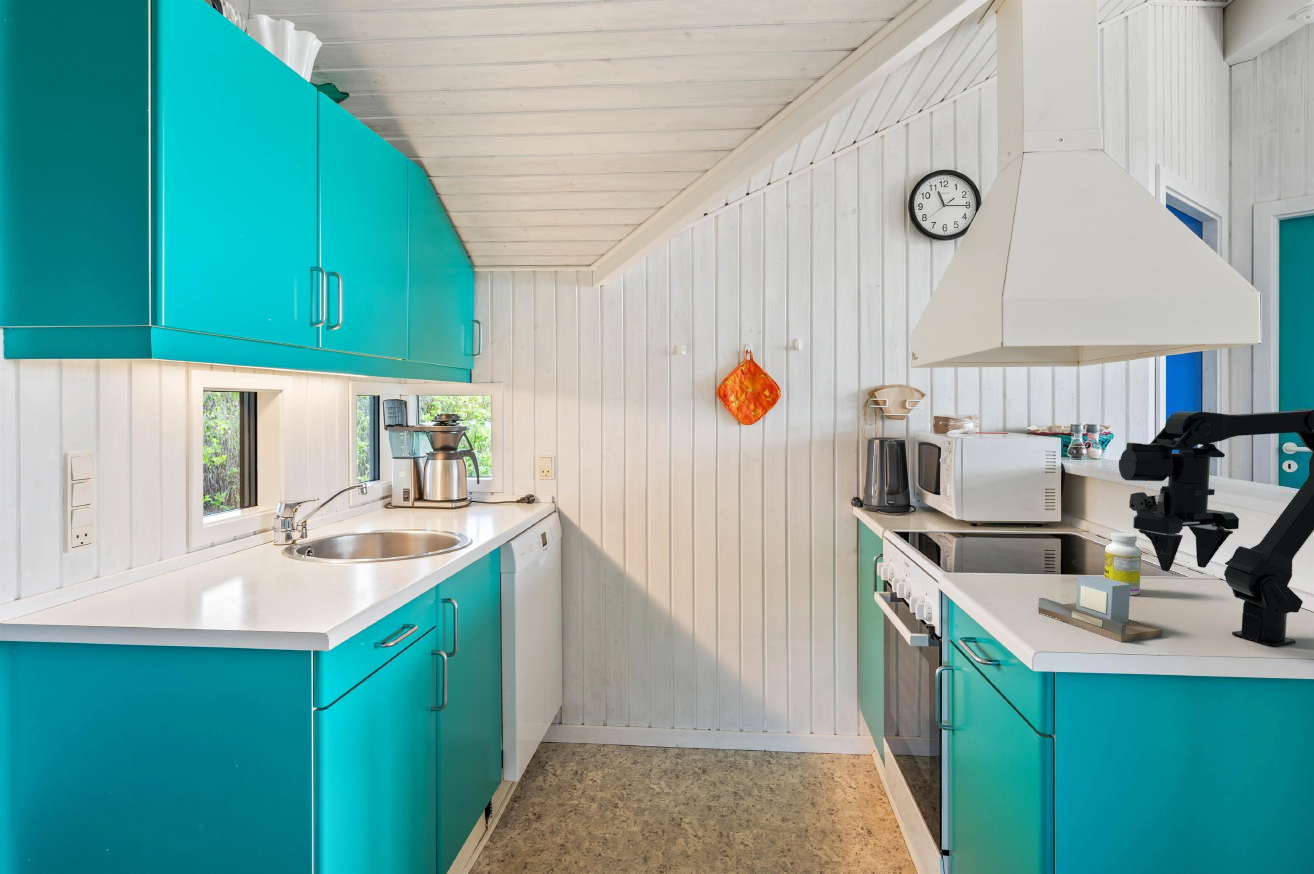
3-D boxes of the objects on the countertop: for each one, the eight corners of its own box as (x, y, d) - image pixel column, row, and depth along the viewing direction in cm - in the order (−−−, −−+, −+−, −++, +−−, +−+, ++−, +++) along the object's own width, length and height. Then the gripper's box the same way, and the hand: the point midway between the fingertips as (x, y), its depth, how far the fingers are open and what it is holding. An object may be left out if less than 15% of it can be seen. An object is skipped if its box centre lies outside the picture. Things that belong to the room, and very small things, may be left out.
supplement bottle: (1105, 586, 157) (1108, 530, 156) (1140, 591, 153) (1143, 533, 152) (1101, 592, 152) (1104, 534, 151) (1138, 598, 147) (1140, 538, 147)
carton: (1093, 610, 134) (1095, 574, 133) (1128, 621, 127) (1130, 584, 127) (1075, 612, 132) (1076, 576, 132) (1109, 624, 126) (1111, 586, 125)
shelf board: (1076, 608, 139) (1076, 593, 139) (1161, 636, 123) (1162, 619, 123) (1037, 612, 136) (1038, 597, 136) (1120, 642, 120) (1121, 625, 120)
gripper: (1178, 475, 133) (1173, 555, 134) (1106, 478, 127) (1102, 562, 128) (1243, 482, 123) (1238, 569, 123) (1168, 485, 117) (1164, 577, 117)
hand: (1183, 568), depth 123 cm, fingers open, 9 cm apart
